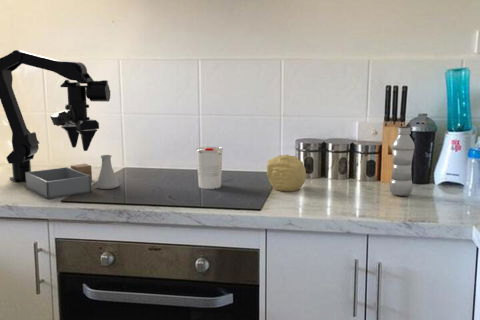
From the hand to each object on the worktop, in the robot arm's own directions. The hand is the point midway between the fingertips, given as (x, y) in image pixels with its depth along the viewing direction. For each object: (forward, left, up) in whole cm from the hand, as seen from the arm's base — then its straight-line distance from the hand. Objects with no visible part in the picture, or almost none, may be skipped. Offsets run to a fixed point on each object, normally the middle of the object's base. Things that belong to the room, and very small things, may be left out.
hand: (79, 149), depth 174 cm
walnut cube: (0, 0, -11) cm, 11 cm away
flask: (+15, +2, -11) cm, 19 cm away
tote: (+10, -11, -10) cm, 18 cm away
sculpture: (+53, +43, -11) cm, 69 cm away
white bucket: (+35, +27, -11) cm, 46 cm away
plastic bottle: (+80, +63, -11) cm, 102 cm away
